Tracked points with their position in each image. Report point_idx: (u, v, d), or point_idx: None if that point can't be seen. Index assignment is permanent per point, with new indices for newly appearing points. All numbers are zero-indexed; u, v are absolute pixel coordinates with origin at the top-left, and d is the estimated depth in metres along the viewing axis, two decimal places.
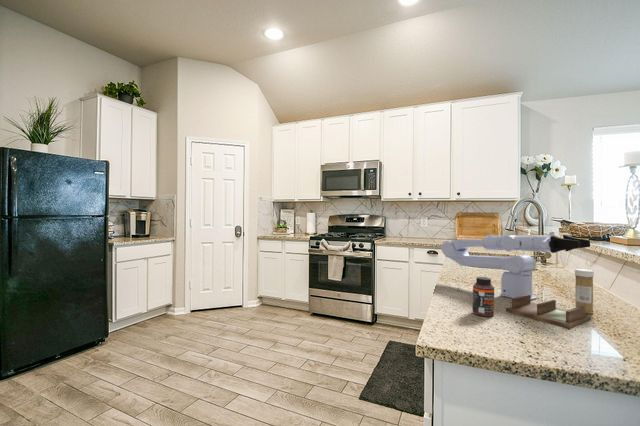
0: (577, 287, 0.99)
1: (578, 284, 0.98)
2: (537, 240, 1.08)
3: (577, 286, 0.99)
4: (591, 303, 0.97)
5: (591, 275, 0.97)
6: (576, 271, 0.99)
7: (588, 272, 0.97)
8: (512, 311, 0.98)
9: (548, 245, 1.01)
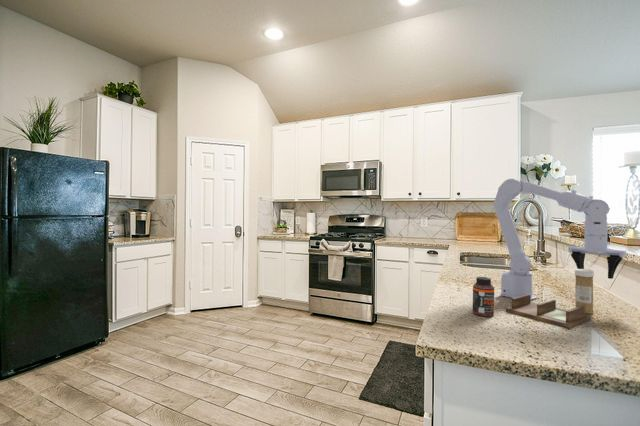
0: (577, 287, 0.99)
1: (578, 284, 0.98)
2: None
3: (577, 286, 0.99)
4: (591, 303, 0.97)
5: (591, 275, 0.97)
6: (576, 271, 0.99)
7: (588, 272, 0.97)
8: (512, 311, 0.98)
9: (622, 256, 0.97)
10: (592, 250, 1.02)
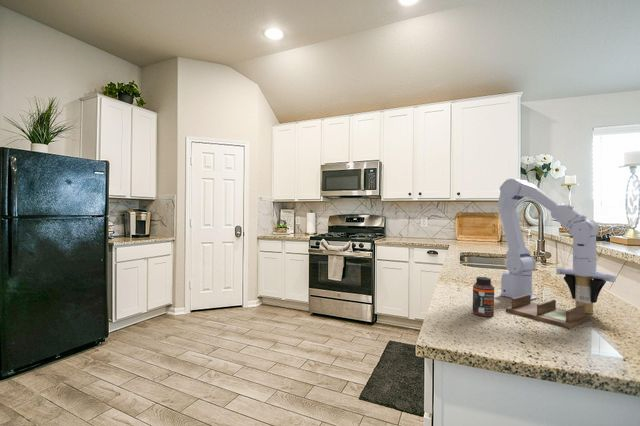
0: (577, 287, 0.99)
1: (578, 284, 0.98)
2: None
3: (577, 286, 0.99)
4: (591, 303, 0.97)
5: None
6: None
7: None
8: (512, 311, 0.98)
9: (611, 281, 0.93)
10: (580, 273, 0.97)
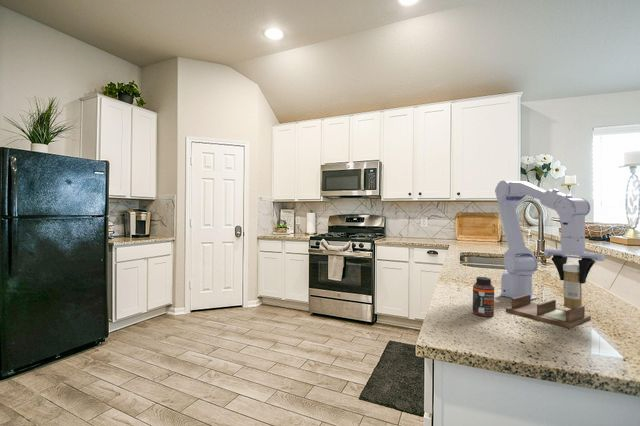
0: (565, 283, 0.95)
1: (566, 279, 0.95)
2: (584, 242, 0.94)
3: (565, 282, 0.95)
4: (579, 299, 0.94)
5: (579, 270, 0.93)
6: (564, 266, 0.96)
7: (576, 267, 0.93)
8: (512, 311, 0.98)
9: (600, 260, 0.90)
10: (569, 253, 0.94)
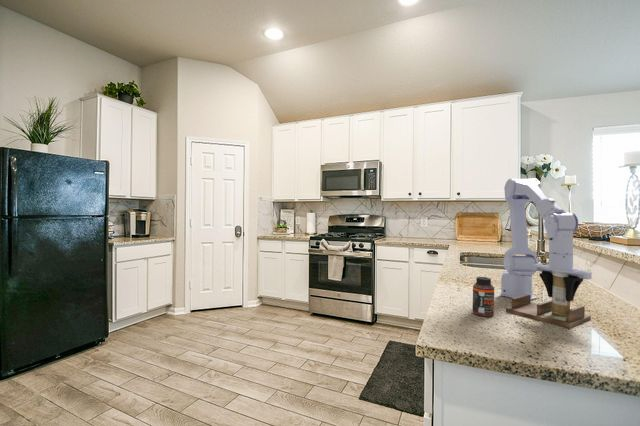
0: (553, 288, 0.93)
1: (555, 284, 0.92)
2: (572, 258, 0.90)
3: (553, 287, 0.93)
4: (567, 305, 0.91)
5: None
6: (553, 271, 0.93)
7: None
8: (512, 311, 0.98)
9: (586, 278, 0.86)
10: (554, 270, 0.91)
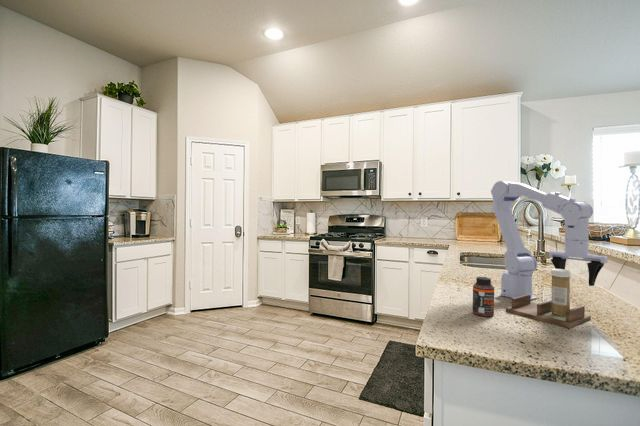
0: (552, 288, 0.93)
1: (554, 284, 0.93)
2: None
3: (552, 287, 0.93)
4: (567, 305, 0.91)
5: (566, 275, 0.91)
6: (552, 271, 0.93)
7: (563, 272, 0.91)
8: (512, 311, 0.98)
9: (603, 262, 0.92)
10: (572, 255, 0.96)
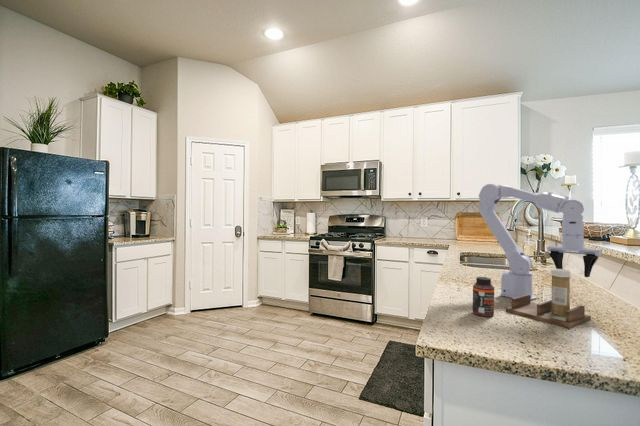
0: (552, 288, 0.93)
1: (554, 284, 0.93)
2: (583, 239, 1.04)
3: (552, 287, 0.93)
4: (567, 305, 0.91)
5: (566, 275, 0.91)
6: (552, 271, 0.93)
7: (563, 272, 0.91)
8: (512, 311, 0.98)
9: (597, 255, 1.00)
10: (569, 249, 1.04)
